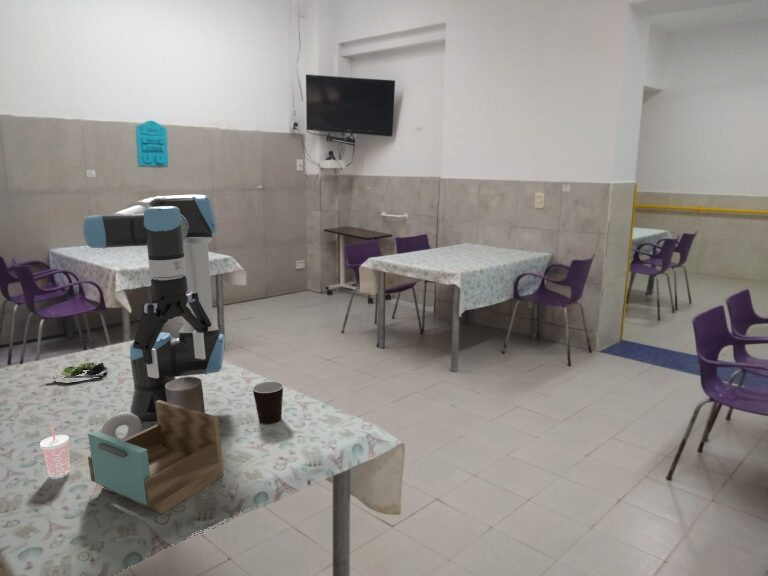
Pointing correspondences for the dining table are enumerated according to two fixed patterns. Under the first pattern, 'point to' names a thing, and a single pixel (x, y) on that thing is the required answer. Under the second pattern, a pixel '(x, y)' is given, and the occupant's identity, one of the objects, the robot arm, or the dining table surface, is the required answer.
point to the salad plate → (93, 369)
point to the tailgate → (119, 465)
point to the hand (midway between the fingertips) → (178, 367)
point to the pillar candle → (186, 393)
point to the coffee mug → (268, 401)
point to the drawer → (177, 455)
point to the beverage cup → (56, 454)
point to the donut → (122, 419)
